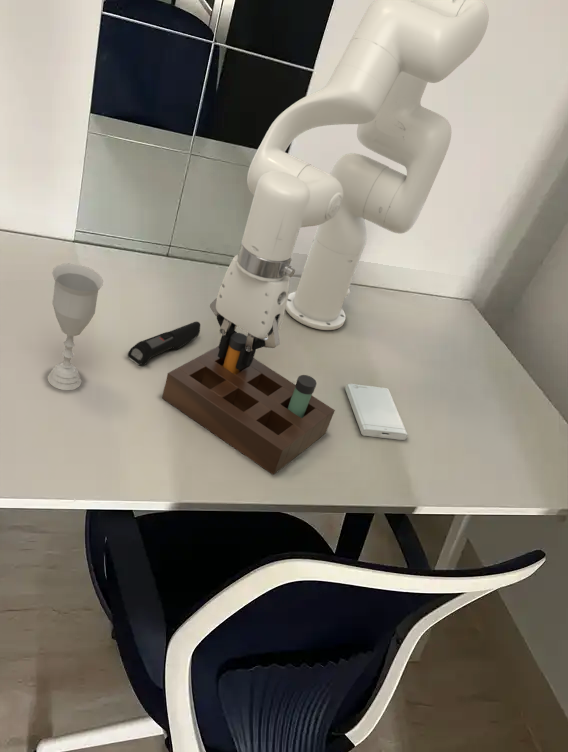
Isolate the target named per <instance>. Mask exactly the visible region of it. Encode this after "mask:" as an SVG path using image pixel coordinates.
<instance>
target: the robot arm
mask: <svg viewBox="0 0 568 752" xmlns="http://www.w3.org/2000/svg"><path fill="white" fill-rule="evenodd" d="M489 16H490V15H489V9H488V6H487V4H486V3H485V2H484V1H483V0H373V1H372V2H371V3H370V5H369V6H368V8H366V10H365V13H364V15H363V17H362V19H361V20H360V22H359V24H358V25H357V27H356V29H355V30H354V33H353V35H352V37H351V39H350V41H349V42H348V44H347V46H346V48H345V49H344V52H343V54H342V55H341V57H340V60H339V61H338V63H337V65H336V66H335V68H334V71H333V72H332V74H331V76H330V78H329V80H328V82H327V83H326V85H325V86H323V87H322V88H321V89H319V90H317V91H314V92H312V93H310V94H308V95H305V96H304V97H302V98H300V99H299V100H297V101H295V102H294V103H292V104H291V105H290V106H289V107H287V108H286V109H285V110H284V111H282V112H281V113H280V114H279V115H278V116H277V117H276V118H275V119H274V121H273V122H272V123H271V124H270V126H269V128H268V130H267V131H266V133H265V135H264V136H263V138H262V141H261V143H260V145H259V146H258V148H257V150H256V152H255V154H254V155H253V158H252V160H251V163H250V165H249V168H248V171H247V177H246V178H247V180H246V182H247V187H248V190H249V191H250V193H251V194H252V195H253V198H252V202H251V206H250V209H249V213H248V217H247V221H246V224H245V228H244V232H243V235H242V238H241V241H240V242H241V243H240V247H239V250H238V254H236V255H234V256H233V259H232V260H231V261H230V264H229V266H228V268H227V270H226V272H225V274H224V276H223V278H222V281H221V284H220V287H219V290H218V293H217V295H216V298H215V299H213V301H212V302H211V303H209V309H210V310H211V312H212V313H213V314H214V315H215V317H216V321H217V323H218V326H219V334H220V335H221V336H220V340H219V344H218V346H219V353H218V357H219V358H223V357H225V356H226V354H227V350H228V347H229V341H230V337H231V335H232V334H233V333H238V331H236V329H237V327H239V328H240V329H242V330H243V331H245V332H247V334H246V336H247V340H246V345H245V347H244V348H242V349H241V351H240V354H239V358H238V361H237V364H236V369H238V370H241V369H243V368H244V367H246V366H247V367H248V366H249V365H251V363H252V361H253V358H254V359H255V355H256V352H257V350H259V349H262V348H266V349H267V348H268V349H275V348H276V347H279V346H280V345H281V342H280V334H279V330H280V329H281V327H282V324H283V320H284V316H285V313H286V312H287V314H288V315H289V316H290V317H291V318H293V320H295V321H297V322H298V323H301V324H302V325H304V326H307V327H309V328H312V329H316V330H319V331H334V330H337V329H338V330H339V329H340V328H341V327H343V325H344V324H345V322H346V318H347V317H346V313H345V311H344V309H343V308H342V307H343V305H344V302H345V300H346V298H347V297H348V296H350V294H351V289H350V286H351V284H352V281H353V279H354V276H355V273H356V271H357V268H358V265H359V263H360V260H361V258H362V255H363V253H364V250H365V248H366V244H367V240H368V230H367V223H366V221H368V222H370V223H372V224H375V225H376V226H379V227H381V228H383V229H385V230H387V231H389V232H392V233H394V234H399V235H400V234H401V235H403V234H405V233H407V232H409V231H410V230H411V229H413V227H414V225H415V224H416V223H417V220H418V219H419V217H420V215H421V212H422V211H423V209H424V206H425V203H426V202H427V199H428V196H429V194H430V192H431V190H432V188H433V185H434V183H435V180H436V179H437V176H438V173H439V172H440V169H441V167H442V164H443V162H444V160H445V158H446V155H447V154H448V153H447V152H448V150H449V147H450V143H451V139H452V126H451V123H450V121H449V120H448V119H446V117H445V116H443V115H442V114H439V113H437V112H435V111H433V110H431V109H428V108H427V107H424V106H422V105H421V104H422V103H421V101H422V97H423V95H424V93H425V90H426V87H427V86H428V83H431V84H436V83H440V82H441V81H443V80H444V79H446V78H448V76H450V75H451V74H452V73H453V72H454V71H455V70H456V69H458V67H460V66H461V65H462V64H463V63H464V62H465V61H466V60H467V59H469V58H470V56H472V55H473V54H474V52H475V51H476V49H478V47H479V45H480V44H481V42H482V40H483V38H484V36H485V34H486V31H487V29H488V25H489ZM339 125H340V126H341V125H357V127H356V128H357V129H356V137H357V140H358V142H359V144H361V145H362V146H364V148H366V149H368V150H369V151H372V152H374V153H376V154H377V155H380V156H382V157H384V158H386V159H388V160H390V161H393V162H395V163H396V164H398V165H401V166H403V167H404V168H405V169H406V174H404V173H403V172H400V171H398V170H396V169H393V168H392V167H390V166H388V165H386V164H384V163H381V162H380V161H377V160H375V159H373V158H371V157H369V156H366V155H363V154H360V153H355V152H354V153H353V152H350V153H346V154H343V155H341V156H340V157H338V158H337V159H336V160H335V162H334V164H333V165H332V167H331V169H330V172H329V173H328V172H327V171H324V170H323V169H321V168H318V167H317V166H314V165H312V164H310V163H308V162H307V161H304V160H302V159H300V158H298V157H297V156H294V155H292V154H289V153H288V152H286V151H287V149H288V148H289V146H290V145H291V144H292V142H294V140H295V139H296V138H298V137H299V136H300V135H302V134H304V133H305V132H308V131H310V130H312V129H314V128H318V127H324V126H325V127H326V126H339ZM315 226H317V228H316V231H315V234H314V237H313V240H312V243H311V246H310V249H309V252H308V255H307V258H306V261H305V264H304V267H303V269H302V272H301V276H300V278H299V282H298V284H297V288H296V291H293V292H290V293H289V291H290V284H291V283H290V281H291V278H292V277H294V275H295V273H296V269H295V268H293V267H292V265H291V262H292V256H293V251H294V249H295V245H296V243H297V239H298V236H299V233H300V231H301V229H302V228H308V227H315Z"/></svg>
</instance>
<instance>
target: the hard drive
mask: <svg viewBox="0 0 568 752" xmlns="http://www.w3.org/2000/svg"><path fill="white" fill-rule="evenodd" d="M344 390H345V392H346V396H347V398H348V401H349V404H350V407H351V409H352V412H353V414H354V417H355V420H356V422H357V423H356V424H357V426H358V428H359V431H360V434H361V436H363V437H373V438H380V439H388V440H389V439H390V440H398V441H405V440H407V438H408V436H409V434H408V432H407V429H406V427H405V424H404V421H403V419H402V417H401V414H400V412H399V409H398V408H397V405H396V403H395V400H394V398H393V396H392V393H391V392H390V389H389V388H386V387H381V386H374V385H373V386H372V385H364V384H356V383H347V384H346V385H345V388H344Z"/></svg>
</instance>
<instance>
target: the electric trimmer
mask: <svg viewBox="0 0 568 752" xmlns="http://www.w3.org/2000/svg"><path fill="white" fill-rule="evenodd" d="M200 331H201V323H200V322H199V321H193V322H190V323H188V324H186V325H182V326H180V327H178V328H175V329H173V330H170V331H166V332H162V333H159V334H157V335H155V336H151V337H149V338H147V339H144V340H140V341H138V342H137V343H136V344H134V345H133V346H132V347H131V348H130V349H129V351H128V353H127V358H128V359H129V360H131V362H134V363H135V364H136V365H138V366H139V365H142V366H145V365H146V364H148V362H149V361H150V360H151V358H153V357H155V356H157V355H159V354H162V353H164V352H167V351H168V350H170V349H175V350H178V349H180V348H182V347H183V346H185V345H186V344H188V343H189V342H191V341H192V340H194V339H195V338H197V337H198V336H199V335H200Z"/></svg>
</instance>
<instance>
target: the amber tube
mask: <svg viewBox="0 0 568 752" xmlns="http://www.w3.org/2000/svg"><path fill="white" fill-rule="evenodd" d="M246 340H247V334H244V333H241V332H237V333H233V334H232V335H231V337H230V341H229V347H228V350H227V354H226V357H225V361H224V364H223V367H224V368H226V369H227V370H229V371H230V372H232V373H233V374H235V375H236V374H237V373H239V371H240V370H238V369H236V364H237V361H238V358H239V354H240V351H241V349H242V348H244V347H245V345H246Z"/></svg>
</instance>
